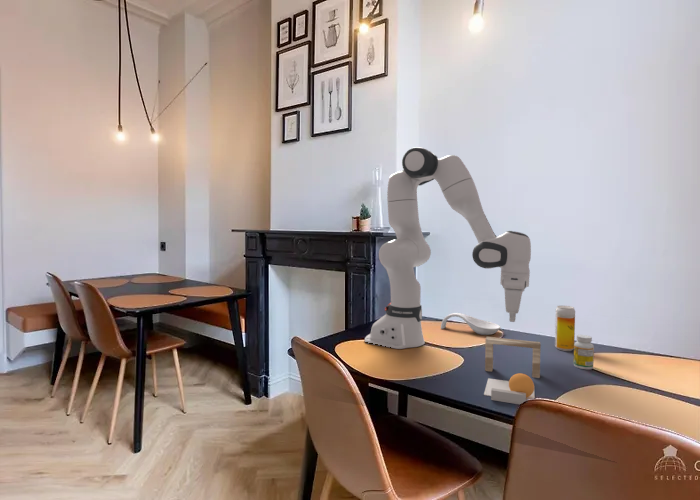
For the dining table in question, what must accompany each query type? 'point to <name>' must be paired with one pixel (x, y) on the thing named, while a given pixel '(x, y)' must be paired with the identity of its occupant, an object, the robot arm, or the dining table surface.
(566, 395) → the dining table surface
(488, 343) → the bridge
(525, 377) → the ball
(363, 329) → the dining table surface
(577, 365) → the supplement bottle
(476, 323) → the spoon rest
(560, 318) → the orange yellow canister
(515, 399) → the block
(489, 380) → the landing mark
